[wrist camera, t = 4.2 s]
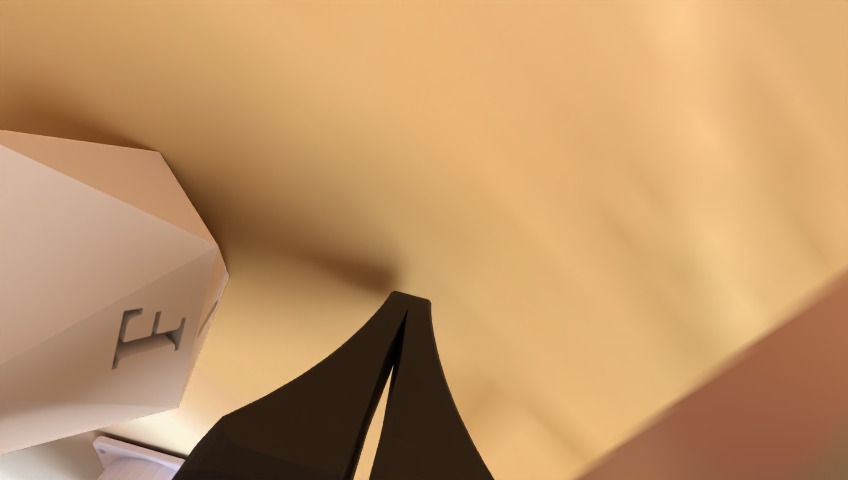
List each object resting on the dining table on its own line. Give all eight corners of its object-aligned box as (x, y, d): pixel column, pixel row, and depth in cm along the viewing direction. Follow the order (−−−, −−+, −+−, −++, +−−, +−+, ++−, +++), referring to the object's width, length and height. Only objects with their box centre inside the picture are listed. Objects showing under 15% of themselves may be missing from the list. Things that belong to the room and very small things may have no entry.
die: (209, 335, 17) (190, 534, 9) (-76, 321, 13) (-664, 711, 4) (251, 169, 16) (275, 222, 8) (-47, 86, 11) (-789, -6, 3)
